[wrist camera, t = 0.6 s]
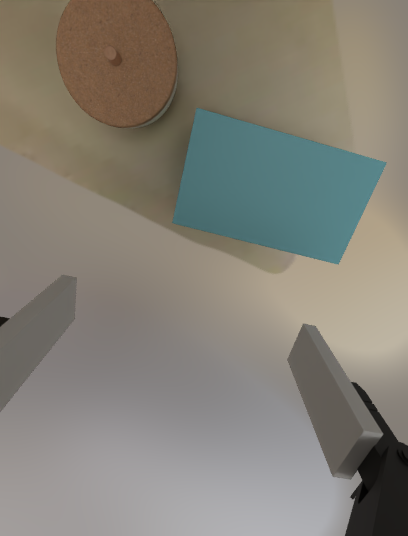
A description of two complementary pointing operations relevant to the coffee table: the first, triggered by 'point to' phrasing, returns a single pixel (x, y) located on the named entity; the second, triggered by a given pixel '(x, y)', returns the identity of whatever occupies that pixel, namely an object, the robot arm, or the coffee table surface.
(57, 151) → the coffee table surface
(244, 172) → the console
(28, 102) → the coffee table surface
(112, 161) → the coffee table surface
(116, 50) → the lidded jar
